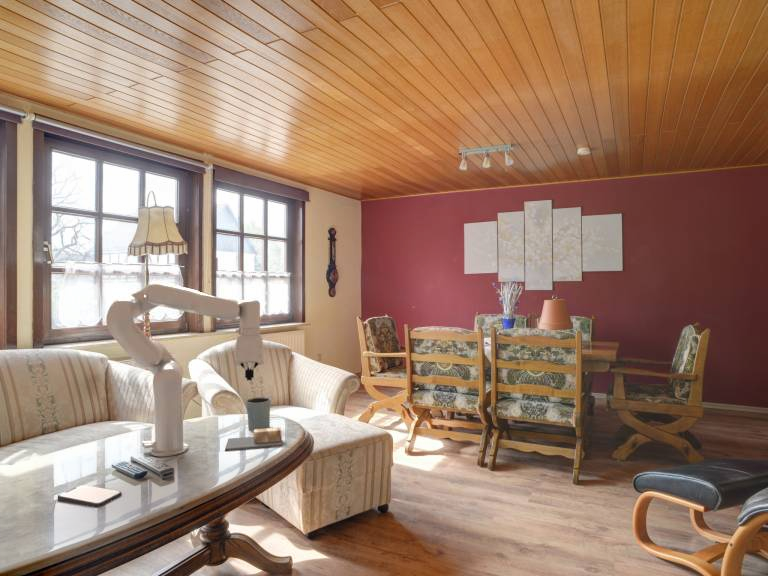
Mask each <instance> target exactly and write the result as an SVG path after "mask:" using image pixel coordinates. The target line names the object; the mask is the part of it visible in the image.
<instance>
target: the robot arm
mask: <svg viewBox="0 0 768 576" xmlns="http://www.w3.org/2000/svg"><path fill="white" fill-rule="evenodd" d="M157 307H163V308H167V309H173V310H178V311H182V312H187V313H189V314H197V315H201V316H205V317H209V318H214V319H218V320H219V319H220V320H224V321H233V320H235V319H238V318H239V327H238V328H237V329H235V334H239V335H237V336H236V341H235V355H234V356H235V361H234V365H235V366H236V365H237V366H240V367H241V368H243V369H244V370H245V371H244V372H245V373H244V374H245V375H244V377H245V379H246V381H252V380H253V378H254V370H255V369H256V367H257V366H261V365H263V364H264V363H265V361H264V343H263V337H262V335H261V326H260V325H261V303H260V301H259V300H257V299H243V300H238V299H231V298H229V299H227V298H222V297H218V296H214V295H209V294H206V293H204V292H200V291H199V290H196V289H192V288H189V287H185V286H184V287H183V286H179V285H174V284H169V283H167V282H163V281H151V282H150V283H149V284H147V285H146V286H145V287H144V288H141V289H140V290H138V291H136V292H133V293H132V294H129V295H128V296H124V297H119V298H117V299H115V300H114V301H113V302H112V303H111V305H110V307H109V308H108V310H107V314H106V316H105V321H106V327H107V329H108V332H109V334H110V335H111V336H112V338H113V340H115V341H116V342H117V343H118V344H119V346H120V347H121V348H122V350H124V351H125V353H127V355H128V356H129V357H130V358H131V359H132V360H133V361H134V363H135V364H136V365H137V366H138V367H140V368H142V369H145V370H148V371H150V373H151V374H152V375H153V378H152V390H153V405H154V406H153V409H154V439H152V441H151V440H146V441H145V440H144V441H142V447H143V448H144V449H149V448H151V450H150V454H151V456H154V457H161V458H162V457H163V458H165V457H171V456H176V455H179V454H183V453H185V452H186V451H188V450H189V445H188V444H187V443H185V442H184V411H183V409H184V407H183V403H184V402H183V377H184V369H183V366H182V365H181V364H180V363H179V361H178V360H177V359H176V358H175V357H174V356H173V355H172V354H171V353H170V352H169V351H168V349H167V348H166V347H165V346H164V345H163V344H161V342H159V341H157V340H151V339H150V338H149V336H147V334H145V332H144V331H143V330H142V329H141V328H140V327H139V326H138V325H137V324H136V322H135V321H134V320H135V319H137V318H138V317H140V316H141V315H144V314H145V313H148V312H149V311H152V310H153V309H155V308H157ZM248 363H251V366H250V368H249V364H248Z"/></svg>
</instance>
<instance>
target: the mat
mask: <svg viewBox="0 0 768 576" xmlns="http://www.w3.org/2000/svg"><path fill="white" fill-rule="evenodd" d="M276 446H279V447H282V440H281V441H272V442H260V443H254V436H246V437H245V436H244V437H243V436H242V437H231V438H229V437H228V438H227V442H226V445H225V449H224V451H225V452H228V451H227V450H231V451H241V450H240V449H243V450H251V449H250V448H255V449H264V448H263V447H267V448H276Z"/></svg>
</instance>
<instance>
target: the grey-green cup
mask: <svg viewBox="0 0 768 576" xmlns="http://www.w3.org/2000/svg"><path fill="white" fill-rule="evenodd" d="M271 400H272V399H271V398H270V397H262V396H261V397H251V398H248V399H246V401H245V404H246V405H245V406H246V413H247V423H248V424H247V426H248V431H250V430H251V431H250V432H254V429H266V428H270V417H271V414H270V413H271V403H272V401H271Z"/></svg>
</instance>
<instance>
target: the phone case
mask: <svg viewBox="0 0 768 576" xmlns="http://www.w3.org/2000/svg"><path fill="white" fill-rule="evenodd" d="M122 495H123V493H122V491H120V490H116V489H112V488H111V489H110V488H106V487H105V488H104V487H98V486H94V485H87V484H80V485H78V486H76V487H73V488H71V489H69V490H66V491H64V492H62V493H59V494H58V495H57V500H58V502H59V501H60V502H63V503H64V502H65V503H70V504H76V505H81V506H87V505H88V507H92V506H94V507H93V508H98V506H100V507H103V506H104V505H106V504H108V503H110V502H112V501H113V500H116V499H117V498H120V497H121V496H122ZM111 500H112V501H111Z"/></svg>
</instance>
